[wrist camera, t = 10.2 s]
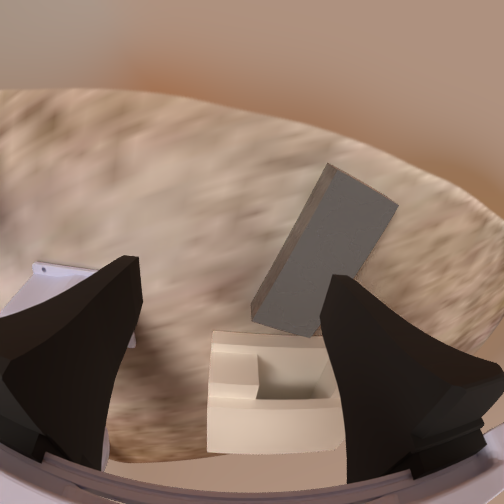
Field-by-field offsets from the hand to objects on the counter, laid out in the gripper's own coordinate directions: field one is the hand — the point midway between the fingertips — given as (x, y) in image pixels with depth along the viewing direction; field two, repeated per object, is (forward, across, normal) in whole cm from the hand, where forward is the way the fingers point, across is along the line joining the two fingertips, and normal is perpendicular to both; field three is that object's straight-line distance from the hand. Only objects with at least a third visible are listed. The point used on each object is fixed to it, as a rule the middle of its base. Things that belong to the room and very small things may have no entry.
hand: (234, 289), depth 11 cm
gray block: (+10, -6, +3) cm, 12 cm away
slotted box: (+9, -6, +17) cm, 20 cm away
